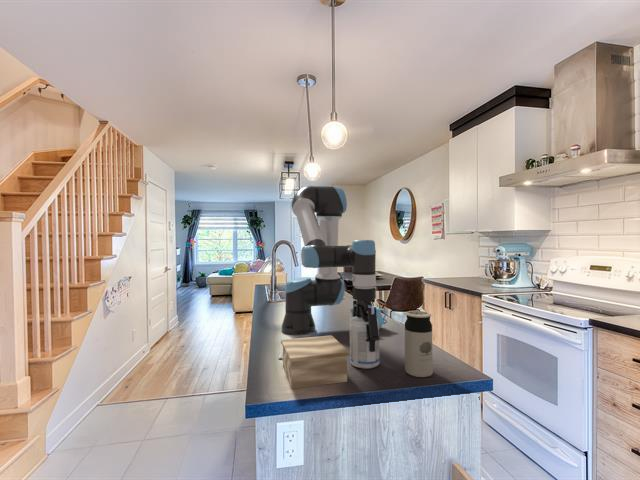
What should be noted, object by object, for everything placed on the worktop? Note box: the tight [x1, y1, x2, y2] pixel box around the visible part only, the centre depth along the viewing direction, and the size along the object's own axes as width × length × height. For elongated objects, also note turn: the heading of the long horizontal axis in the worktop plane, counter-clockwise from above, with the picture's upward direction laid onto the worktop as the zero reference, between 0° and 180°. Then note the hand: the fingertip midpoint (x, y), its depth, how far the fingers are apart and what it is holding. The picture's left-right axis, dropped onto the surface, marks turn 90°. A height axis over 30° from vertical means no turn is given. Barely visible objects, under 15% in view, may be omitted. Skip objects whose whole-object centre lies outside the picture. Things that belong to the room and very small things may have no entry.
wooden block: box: [280, 335, 350, 389], centre depth 97 cm, size 17×17×8 cm
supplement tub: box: [348, 316, 381, 370], centre depth 105 cm, size 10×10×15 cm
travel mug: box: [404, 310, 434, 378], centre depth 98 cm, size 8×8×18 cm
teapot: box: [349, 305, 388, 330], centre depth 146 cm, size 15×14×11 cm
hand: (364, 355), depth 105 cm, fingers closed on supplement tub, 10 cm apart
